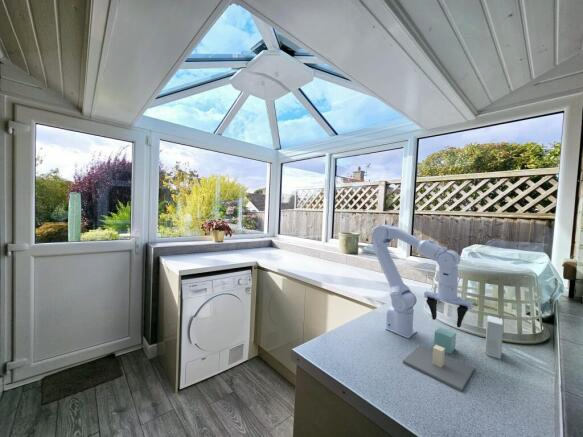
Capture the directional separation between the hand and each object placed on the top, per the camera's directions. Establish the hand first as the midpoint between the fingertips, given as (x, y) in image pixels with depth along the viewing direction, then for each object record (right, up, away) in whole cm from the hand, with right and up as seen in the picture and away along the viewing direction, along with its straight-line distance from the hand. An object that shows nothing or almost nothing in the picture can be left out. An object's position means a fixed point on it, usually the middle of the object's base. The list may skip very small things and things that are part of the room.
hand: (446, 322), depth 87 cm
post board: (-9, -10, -10) cm, 16 cm away
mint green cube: (0, -9, +1) cm, 10 cm away
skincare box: (+15, -10, -2) cm, 18 cm away
